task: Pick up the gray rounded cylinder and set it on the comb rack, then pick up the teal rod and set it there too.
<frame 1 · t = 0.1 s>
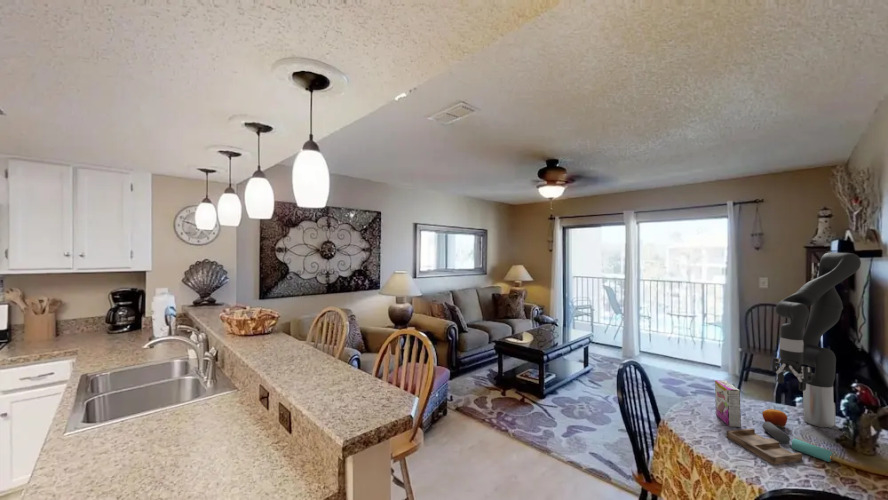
hand: (791, 386, 158), 17 cm above the table, tool pointing down, fingers open, 8 cm apart
gray rounded cylinder: (775, 437, 151), on the table
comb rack: (762, 448, 143), on the table
teal rod: (811, 455, 138), on the table
fruit: (775, 425, 160), on the table
candy bar box: (727, 421, 165), on the table
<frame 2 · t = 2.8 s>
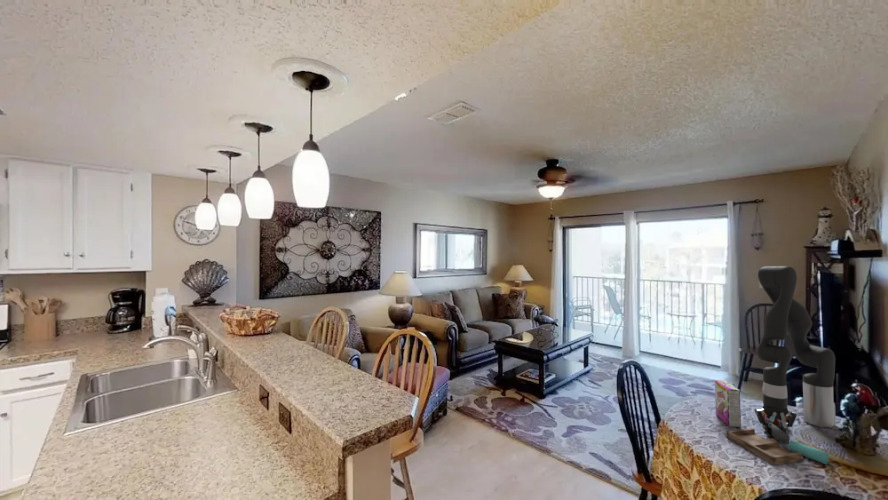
hand: (775, 435, 151), 1 cm above the table, tool pointing down, fingers closed on gray rounded cylinder, 4 cm apart
gray rounded cylinder: (775, 436, 151), on the table, touching gripper
teal rod: (810, 451, 137), point 1 cm above the table, tilted 77°
everything else where it was.
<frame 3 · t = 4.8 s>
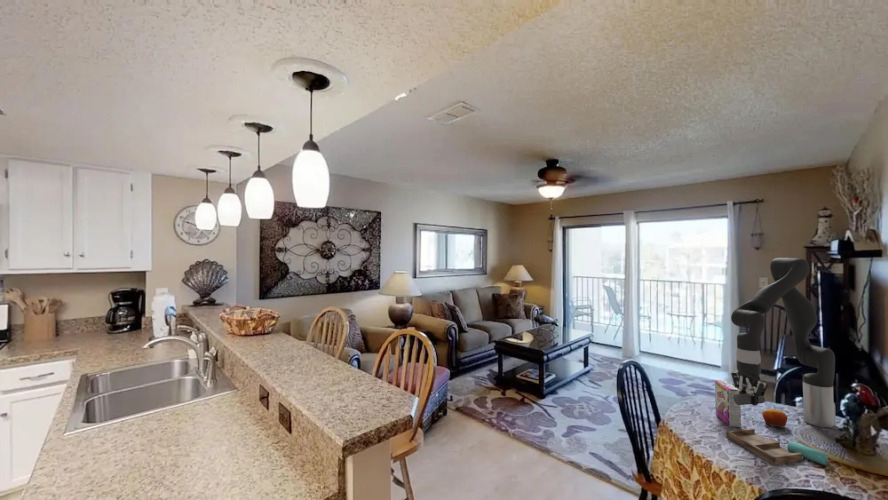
hand: (749, 402, 148), 16 cm above the table, tool pointing down, fingers closed on gray rounded cylinder, 4 cm apart
gray rounded cylinder: (749, 403, 148), point 15 cm above the table, touching gripper
teal rod: (809, 449, 137), point 2 cm above the table, tilted 105°
everything else where it was.
when the fingers open (3 cm above the table, at t = 7.0 s): gray rounded cylinder drops 2 cm, resting on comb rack.
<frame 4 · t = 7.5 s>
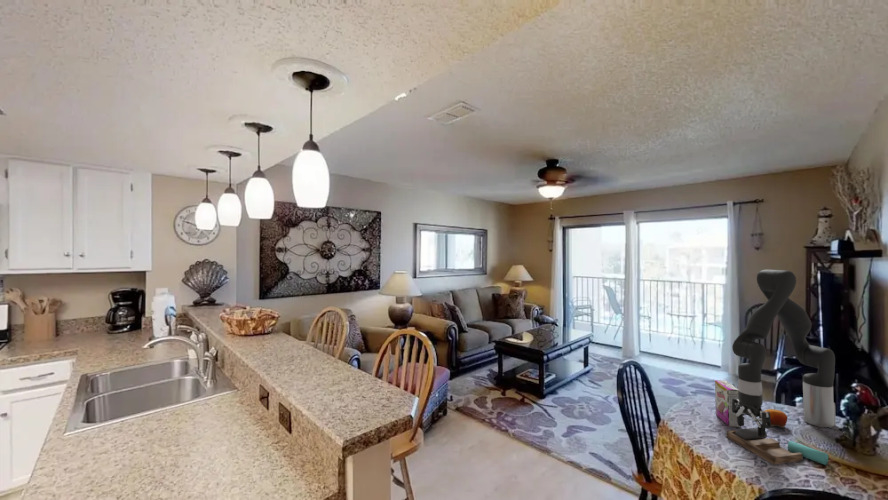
hand: (750, 430, 148), 4 cm above the table, tool pointing down, fingers open, 8 cm apart
gray rounded cylinder: (751, 438, 148), point 1 cm above the table, touching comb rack
teal rod: (809, 450, 137), point 2 cm above the table, tilted 100°
everything else where it was.
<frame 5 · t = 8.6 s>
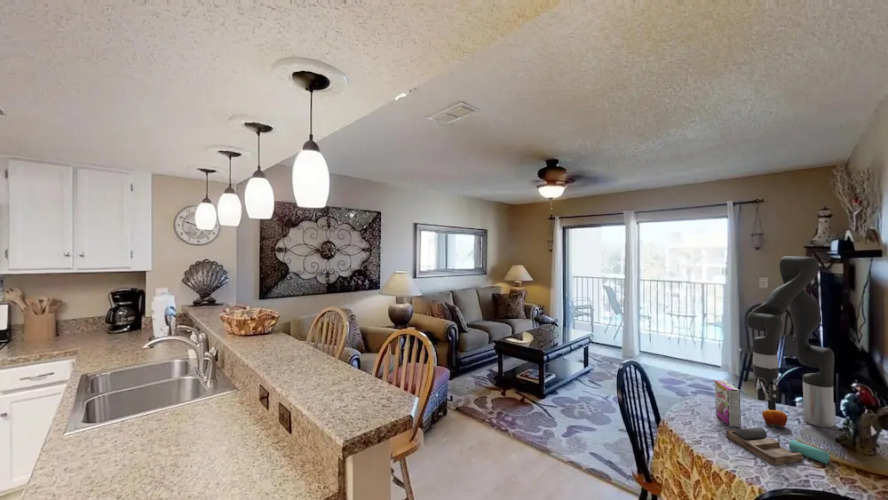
hand: (766, 404, 146), 16 cm above the table, tool pointing down, fingers open, 8 cm apart
teal rod: (811, 452, 138), point 1 cm above the table, tilted 62°
everything else where it was.
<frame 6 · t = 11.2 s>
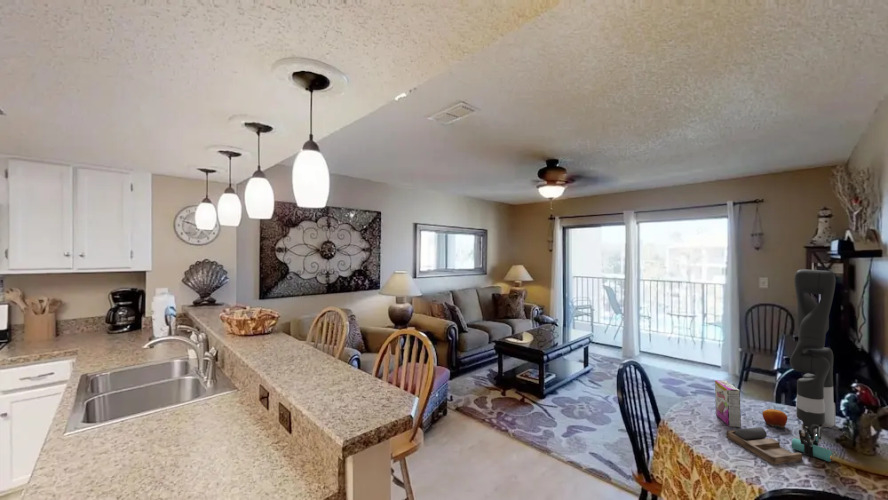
hand: (811, 453, 138), 1 cm above the table, tool pointing down, fingers closed on teal rod, 4 cm apart
teal rod: (811, 454, 138), on the table, touching gripper
everything else where it was.
when the fingers open (3 cm above the table, at t = 15.5 s): teal rod drops 2 cm, resting on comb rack.
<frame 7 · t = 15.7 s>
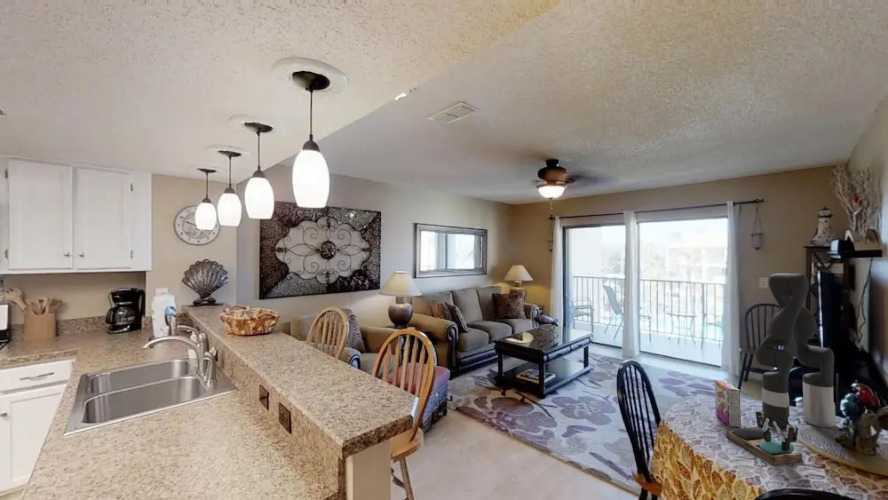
hand: (776, 446, 138), 4 cm above the table, tool pointing down, fingers open, 6 cm apart
gray rounded cylinder: (751, 438, 148), point 1 cm above the table, tilted 20°, touching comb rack
teal rod: (776, 452, 138), point 1 cm above the table, touching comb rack
everything else where it was.
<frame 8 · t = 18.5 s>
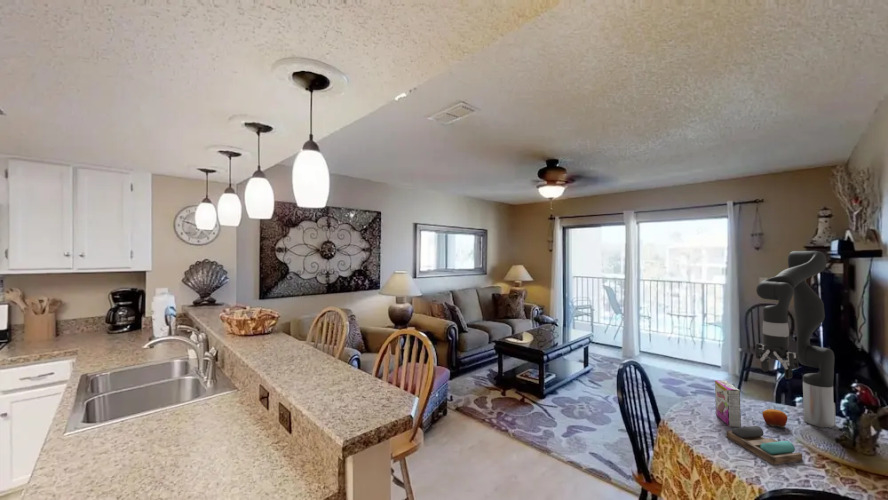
hand: (776, 374, 143), 28 cm above the table, tool pointing down, fingers open, 8 cm apart
gray rounded cylinder: (750, 437, 148), point 2 cm above the table, tilted 42°, touching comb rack
teal rod: (776, 452, 138), point 1 cm above the table, tilted 12°, touching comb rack
everything else where it was.
at the end: gray rounded cylinder inside the target area on the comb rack (0.1 cm from its centre), point 1.5 cm above the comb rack's base; teal rod inside the target area on the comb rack (0.1 cm from its centre), point 1.0 cm above the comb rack's base; the gripper is holding nothing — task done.
